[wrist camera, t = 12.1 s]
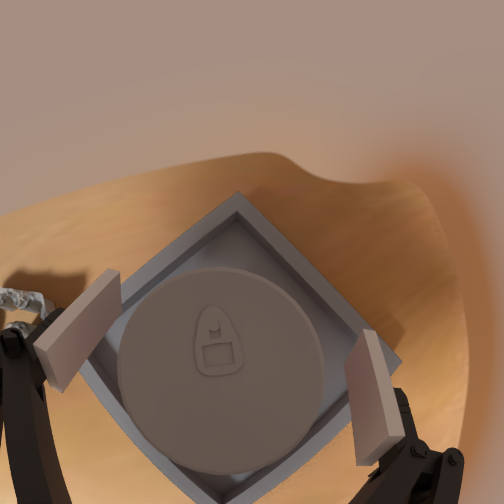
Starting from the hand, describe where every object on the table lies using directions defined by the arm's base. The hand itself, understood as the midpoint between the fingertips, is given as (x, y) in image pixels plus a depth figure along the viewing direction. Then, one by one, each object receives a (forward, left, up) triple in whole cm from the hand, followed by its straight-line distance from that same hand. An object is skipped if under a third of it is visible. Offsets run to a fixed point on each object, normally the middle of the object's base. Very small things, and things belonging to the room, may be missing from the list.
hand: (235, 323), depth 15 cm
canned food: (+1, -2, -6) cm, 7 cm away
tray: (+1, -2, -7) cm, 7 cm away
